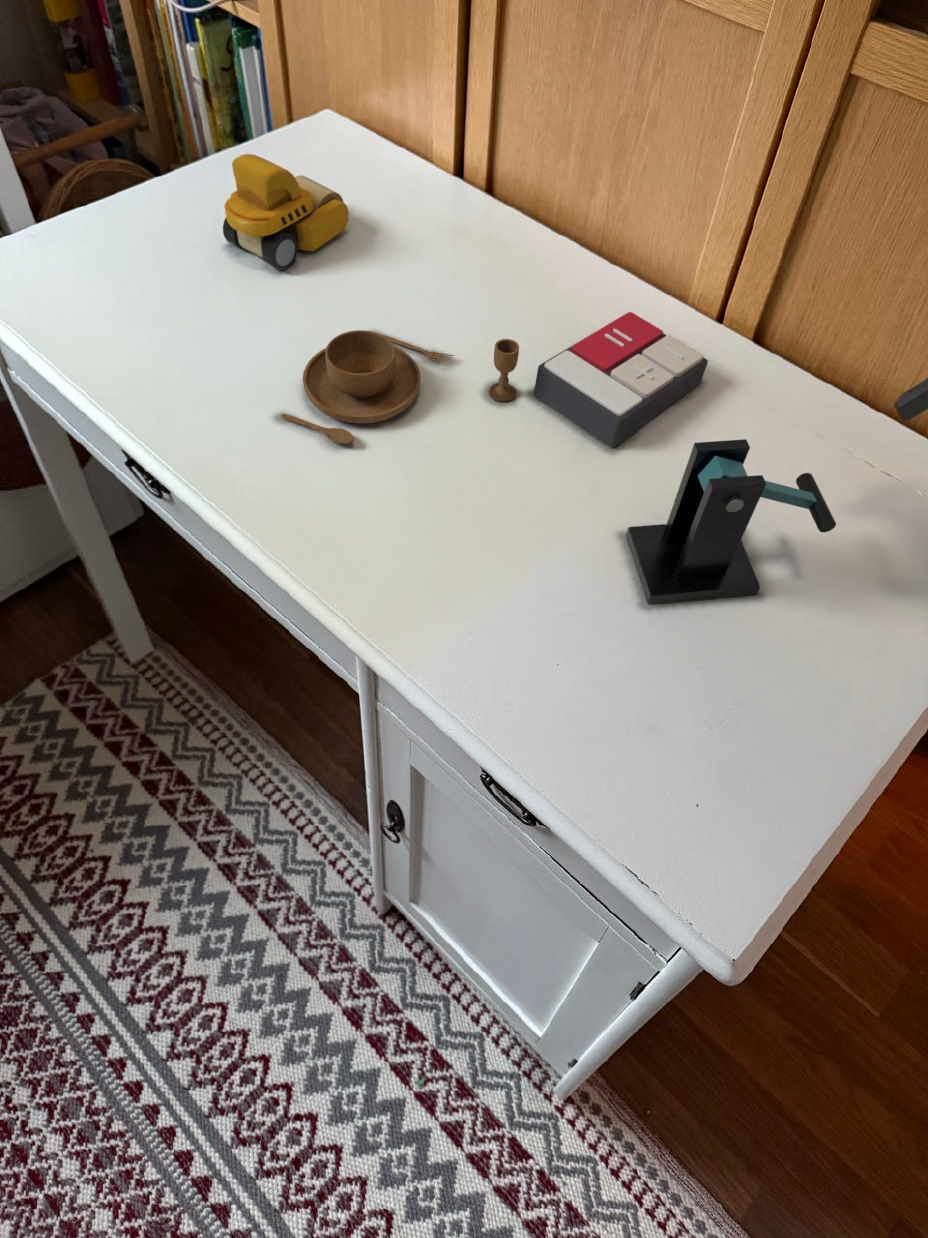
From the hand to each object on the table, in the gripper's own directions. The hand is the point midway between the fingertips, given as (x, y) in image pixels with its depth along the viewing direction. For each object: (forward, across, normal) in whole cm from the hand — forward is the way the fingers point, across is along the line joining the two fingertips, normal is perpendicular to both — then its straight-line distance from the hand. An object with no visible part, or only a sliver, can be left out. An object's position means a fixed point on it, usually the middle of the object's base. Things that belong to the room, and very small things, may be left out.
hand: (919, 448), depth 74 cm
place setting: (+38, +24, +19) cm, 49 cm away
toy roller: (+45, +53, +27) cm, 75 cm away
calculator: (+21, +24, +3) cm, 32 cm away
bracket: (+20, 0, +2) cm, 21 cm away
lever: (+12, 0, +5) cm, 13 cm away
